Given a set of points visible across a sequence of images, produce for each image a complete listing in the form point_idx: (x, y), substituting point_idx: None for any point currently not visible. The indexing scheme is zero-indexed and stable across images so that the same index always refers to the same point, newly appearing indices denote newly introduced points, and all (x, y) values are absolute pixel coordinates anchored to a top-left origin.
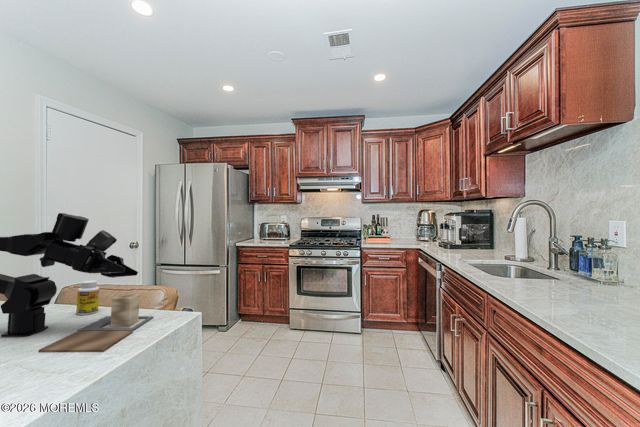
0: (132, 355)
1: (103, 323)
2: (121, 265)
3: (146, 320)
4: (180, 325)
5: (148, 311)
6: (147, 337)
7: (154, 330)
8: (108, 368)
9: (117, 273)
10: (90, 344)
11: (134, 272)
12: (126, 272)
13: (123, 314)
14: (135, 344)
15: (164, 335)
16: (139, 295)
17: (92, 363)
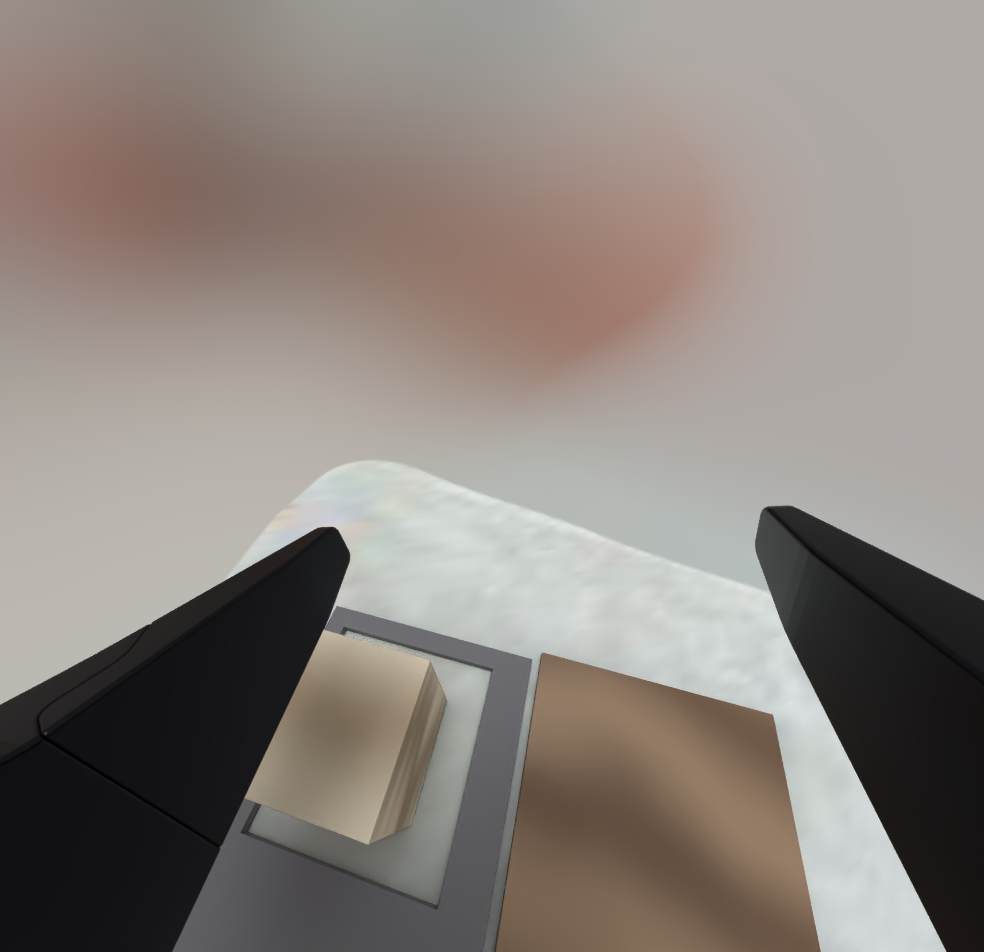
0: (769, 595)
1: (352, 905)
2: (61, 767)
3: (398, 625)
4: (485, 497)
5: None
6: (601, 583)
7: (523, 573)
8: None
9: (182, 837)
10: (726, 819)
11: (327, 559)
12: (267, 663)
13: (429, 727)
14: (672, 609)
15: (585, 531)
16: None
17: None
